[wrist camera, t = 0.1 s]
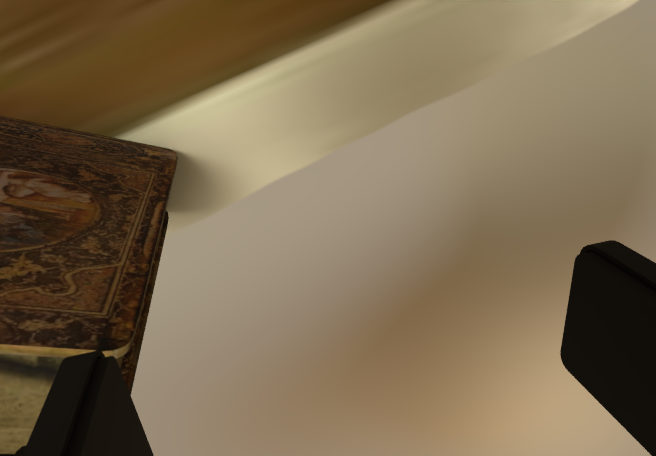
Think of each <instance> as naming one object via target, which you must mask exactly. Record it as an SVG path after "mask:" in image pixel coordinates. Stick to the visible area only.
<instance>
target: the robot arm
mask: <svg viewBox="0 0 656 456" xmlns="http://www.w3.org/2000/svg"><path fill="white" fill-rule="evenodd" d="M561 359H562V362H563V364H564V366H565V368H566V369H567V370H568V371H569V372H570V373H571V374H572V375H573V376H574V377H575V378H576V379H577V380H578V381H579V382H580V383H581V384H582V385H583V386H584V387H585V388H586V389H587V390H588V392H589V393H590V394H592V396H594V398H595V399H596V400H597V401H598V402H599V403H600V404H601V405H602V406H603V407H604V408H605V409H606V410H607V411H608V412H609V413H610V414H611V415H612V416H613V417H614V418H615V419H616V420H617V421H618V422H619V423H620V424H621V425H622V426H623V427H624V428H625V429H626V430H627V431H628V432H629V433H630V434H631V435H632V436H633V437H634V438H635V439H636V440H637V441H638V442H639V443H640V444H641V445H642V446H643V447H644V448H645V449H646V450H647V451H648V452H649V453H650V454H651V455H652V456H656V263H654V262H653V261H651V260H649V259H647V258H646V257H644V256H642V255H640V254H639V253H637V252H635V251H633V250H631V249H630V248H628V247H626V246H624V245H623V244H621V243H619V242H616V241H606V242H601V243H596V244H591V245H587V246H585V247H583V249H582V250H581V252H580V254H579V255H578V256H577V257H576V259H575V263H574V269H573V276H572V282H571V289H570V296H569V302H568V308H567V314H566V320H565V327H564V333H563V339H562V346H561ZM14 456H153V453H152V450H151V448H150V445H149V442H148V440H147V437H146V435H145V432H144V430H143V427H142V424H141V422H140V419H139V417H138V414H137V412H136V409H135V406H134V404H133V401H132V398H131V396H130V393H129V391H128V388H127V386H126V383H125V380H124V378H123V375H122V373H121V370H120V367H119V365H118V362H117V360H116V358H115V357H114V356H108V357H105V355H104V354H103V352H102V351H99V350H97V351H93V352H88V353H83V354H79V355H74V356H69V357H66V358H64V359H63V361H62V363H61V365H60V367H59V369H58V372H57V374H56V377H55V379H54V381H53V384H52V386H51V388H50V391H49V393H48V395H47V398H46V400H45V402H44V405H43V407H42V410H41V412H40V414H39V417H38V419H37V421H36V424H35V426H34V428H33V431H32V433H31V436H30V438H29V440H28V443H27V445H26V446H22V447H21V448H20V449H18V450H17V451H16V453H15V454H14Z"/></svg>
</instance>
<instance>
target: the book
mask: <svg viewBox="0 0 656 456" xmlns="http://www.w3.org/2000/svg"><path fill="white" fill-rule="evenodd" d="M177 159H178V157H177V154H176V152H174V151H172V150H169V149H165V148H160V147H155V146H151V145H146V144H141V143H136V142H131V141H126V140H121V139H116V138H111V137H105V136H100V135H95V134H90V133H85V132H79V131H74V130H69V129H64V128H59V127H53V126H48V125H43V124H38V123H33V122H28V121H22V120H17V119H12V118H7V117H2V116H0V456H14V454H15V453H16V451H17V450H18V449H20V448H21V447H22V446H26V445H27V443H28V440H29V438H30V436H31V433H32V431H33V428H34V426H35V424H36V421H37V419H38V417H39V414H40V412H41V410H42V407H43V405H44V402H45V400H46V398H47V395H48V393H49V391H50V388H51V386H52V384H53V381H54V379H55V377H56V374H57V372H58V369H59V367H60V365H61V363H62V361H63V359H64V358H66V357H69V356H74V355H79V354H83V353H88V352H93V351H97V350H99V351H102V352H103V354H104V355H105V357H108V356H114V357H115V358H116V360H117V362H118V365H119V367H120V370H121V373H122V375H123V378H124V380H125V383H126V386H127V388H128V391H129V393H130V396H131V391H132V386H133V382H134V377H135V372H136V368H137V363H138V359H139V354H140V350H141V345H142V340H143V335H144V331H145V326H146V322H147V317H148V313H149V308H150V303H151V299H152V294H153V290H154V285H155V280H156V275H157V271H158V267H159V262H160V257H161V253H162V248H163V243H164V239H165V234H166V230H167V224H168V218H169V217H168V212H167V211H166V207H167V202H168V198H169V194H170V190H171V186H172V182H173V178H174V174H175V169H176V165H177Z"/></svg>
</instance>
